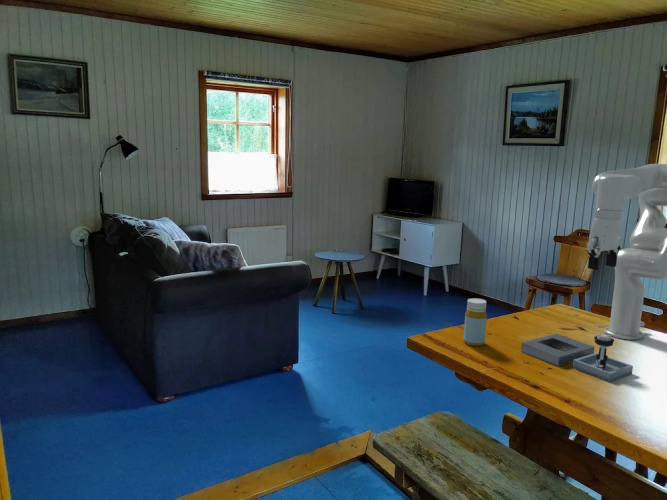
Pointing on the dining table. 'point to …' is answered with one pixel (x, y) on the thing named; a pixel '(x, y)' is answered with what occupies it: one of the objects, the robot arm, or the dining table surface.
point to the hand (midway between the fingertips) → (601, 267)
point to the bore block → (556, 357)
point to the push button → (603, 349)
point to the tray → (610, 372)
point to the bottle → (475, 322)
